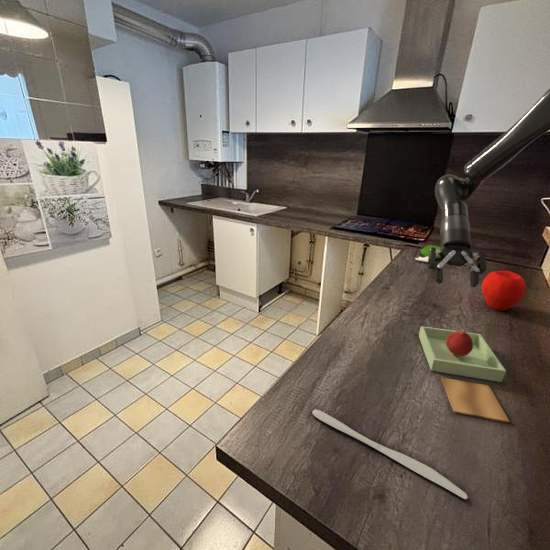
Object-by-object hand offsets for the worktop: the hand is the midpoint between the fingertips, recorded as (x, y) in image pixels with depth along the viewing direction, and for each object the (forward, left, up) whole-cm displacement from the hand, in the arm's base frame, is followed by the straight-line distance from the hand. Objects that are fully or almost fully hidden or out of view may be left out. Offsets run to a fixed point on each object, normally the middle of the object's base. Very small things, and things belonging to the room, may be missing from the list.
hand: (456, 284), depth 80 cm
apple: (-22, -21, -16) cm, 35 cm away
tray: (0, +12, -16) cm, 20 cm away
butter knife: (+21, +44, -16) cm, 51 cm away
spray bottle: (-12, -73, -16) cm, 76 cm away
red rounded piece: (0, +12, -16) cm, 19 cm away
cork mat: (+1, +27, -16) cm, 31 cm away
